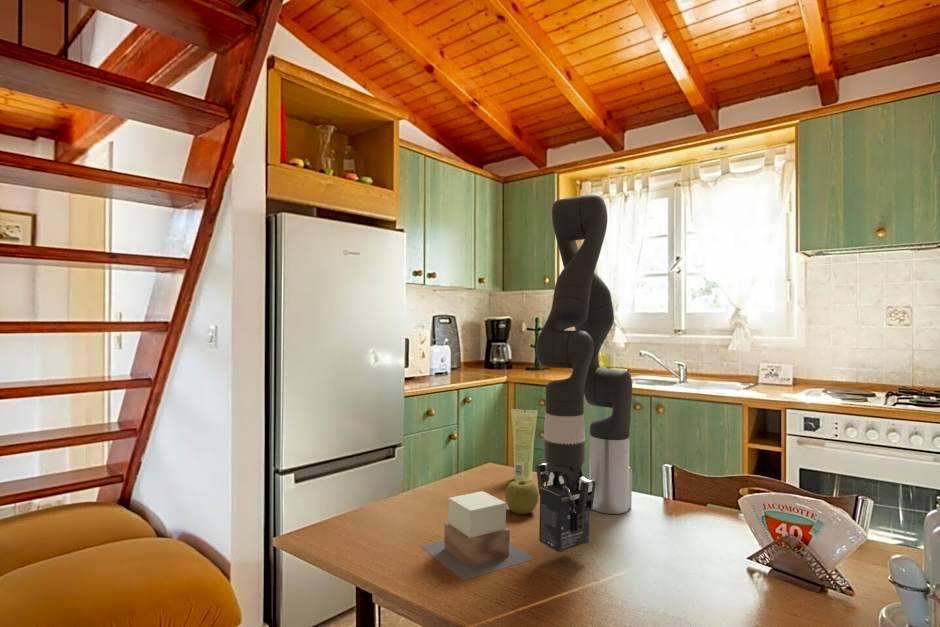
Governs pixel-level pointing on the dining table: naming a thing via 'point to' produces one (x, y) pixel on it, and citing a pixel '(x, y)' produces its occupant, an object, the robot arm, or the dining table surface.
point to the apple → (521, 496)
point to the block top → (476, 514)
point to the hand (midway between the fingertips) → (564, 526)
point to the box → (559, 520)
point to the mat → (467, 572)
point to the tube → (523, 442)
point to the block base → (476, 546)
